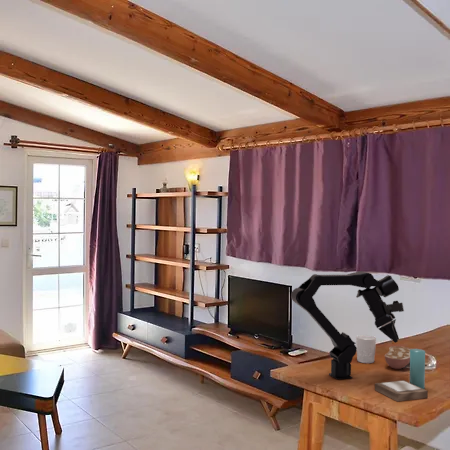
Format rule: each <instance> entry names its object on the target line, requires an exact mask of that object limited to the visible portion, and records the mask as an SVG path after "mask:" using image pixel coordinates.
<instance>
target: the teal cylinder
mask: <svg viewBox="0 0 450 450" xmlns="http://www.w3.org/2000/svg"><path fill="white" fill-rule="evenodd" d="M425 381H426V350H424V349H420V348H411V349H410V362H409V383H411V384H413V385H416V386H418V387H420V388H422V389H425V387H426V386H425V385H426V382H425ZM425 390H426V389H425Z"/></svg>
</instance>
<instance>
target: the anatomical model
mask: <svg viewBox="0 0 450 450" xmlns="http://www.w3.org/2000/svg"><path fill="white" fill-rule="evenodd" d="M388 349H389V351H388V352H387V353H385V354H384V360H385V362H386V364H387V365H388V366H389V367H390V368H392V369H395V370H400V369H404V368H405V367H406V366H407V365H409V364H410V349H412V347H411V348H410V347H407V346H402V345H392V346H390V347H389V348H388Z"/></svg>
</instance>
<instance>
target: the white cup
mask: <svg viewBox="0 0 450 450" xmlns="http://www.w3.org/2000/svg"><path fill="white" fill-rule="evenodd" d="M355 338H356V339H355V340H356V342H355V343H356V344H355V346H356V348H357V349H356V360H357V362H358V363H363V364H373V363H375V356H376V343H377V337H376V336H375V335H374V336H373V335H367V334H360V335H356V337H355Z"/></svg>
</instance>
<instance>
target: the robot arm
mask: <svg viewBox="0 0 450 450" xmlns="http://www.w3.org/2000/svg"><path fill="white" fill-rule="evenodd" d="M321 286H353V287H358V288H362V289H358V290H357V294H356V298H357V299H358V298H361V297H362V298H363V299H364V300H363V301H365V304H366V305H367V307H368V310H369V312H371V314H372V316H373V317H374V325H375V327H376V328H377V329H378V330H379V331H380V332H382V334H384V335H385V336H386V337H388V338H389V340H391V341H393V342H394V343H397V342H398V341H399V340H400V337H399V334H398V331H397V329H396V326H395V323H396V320H397V319H396V316H395V314H394V313H397V312H398V313H401V312H405V310H404V304H403V302H399V301H398V300H394V301H392V303H389V304H387V303H386V302H385V301H384V300H383V299H382V297H383V298H387V297H389V296H392V294H396V293H397V292H398V291H399V284H398V283H397V282H396V281H395V279H394V278H393V277H392V276H391V275H390V274H387V275H386V276H384V277H383V278H380V279H379V280H378V279H376V278H375V277H374V275H373V274H372V273H370V272H366V271H362V270H361V271H355V272H351V273H348V274H318V273H317V274H316V273H314V274H312V275H311V276H310V277H309V278H308V279H307V280H305V281H304V282H303V283H301V284H300V285H299V286H298V287H296V288H294V289H293V290H292V291H291V294H290V295H291V296H290V298H291V301H292V302H293V303H294V304H295V305H297V306H299V307H301V308H302V309H303V310H304V311H306V312H307V313H308V315H309V316H310V317H311V318H312V319H313V320H314V322H316V324H318V326H319V327H320V328H321V329H322V330H323V331H324V333H325V334H326V335H327V336H328V337H329V339H330V341H331V343H332V345H333V347H332V349H331V350H330V351H329V356H330V358H332V359H331V360H330V364H331V365H330V368H331V369H330V373H328V375H329V376H330V377H331V378H334V379H336V380H344V379H345V380H346V379H353V376H352V362H353V358H354V356H355V355H357V345H356V342H355V341H353V339H352V338H351V337H350V335H348V334H347V333H345V332H343V331H342V332H341V333H340V331H339V330H338V329H337V328H336V326H334V324H332V322H331V321H330V320H329V319H328V317H327V316H326V315H325V314H324V313H323V312H322V311H321V309H319V307H318V306H317V304H316V301H315V298H314V296H315V295H316V293H317V292H318V290H319V289H320V287H321Z"/></svg>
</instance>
